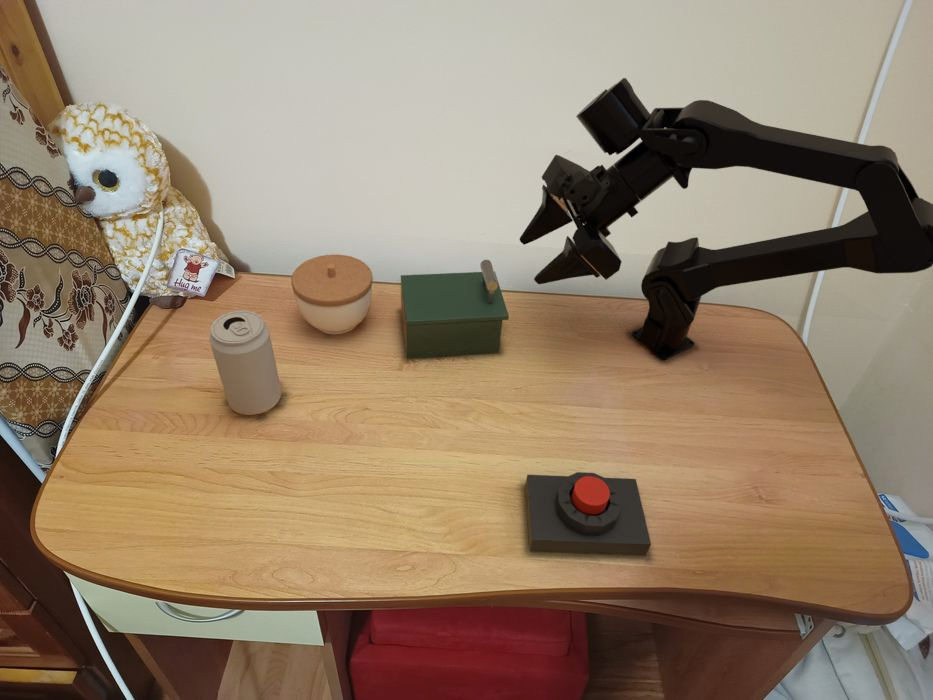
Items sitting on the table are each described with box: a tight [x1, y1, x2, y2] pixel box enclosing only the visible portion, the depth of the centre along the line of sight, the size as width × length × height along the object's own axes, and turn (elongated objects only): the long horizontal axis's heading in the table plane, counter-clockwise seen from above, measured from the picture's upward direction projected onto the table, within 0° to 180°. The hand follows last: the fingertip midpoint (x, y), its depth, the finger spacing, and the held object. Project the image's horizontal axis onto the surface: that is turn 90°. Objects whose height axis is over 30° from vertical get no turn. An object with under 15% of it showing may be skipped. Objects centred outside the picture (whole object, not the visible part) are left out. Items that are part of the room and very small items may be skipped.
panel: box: [524, 471, 652, 557], centre depth 66 cm, size 12×8×4 cm, turn 89°
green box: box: [400, 285, 503, 360], centre depth 87 cm, size 13×10×6 cm
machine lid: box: [400, 259, 510, 325], centre depth 83 cm, size 13×10×4 cm
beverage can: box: [209, 309, 282, 416], centre depth 73 cm, size 6×6×12 cm
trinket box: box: [290, 254, 374, 335], centre depth 86 cm, size 11×11×9 cm
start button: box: [572, 476, 610, 515], centre depth 64 cm, size 4×4×2 cm
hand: (528, 261), depth 83 cm, fingers open, 9 cm apart
